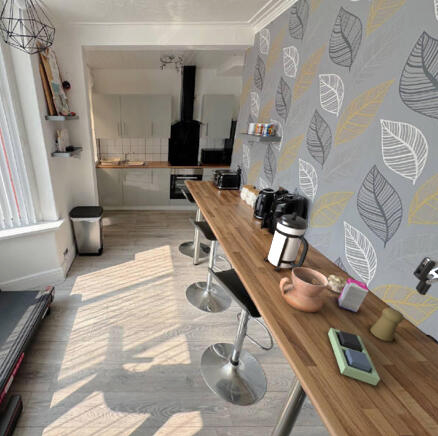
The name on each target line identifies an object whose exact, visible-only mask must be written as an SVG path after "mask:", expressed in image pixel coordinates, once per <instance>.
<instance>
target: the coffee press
mask: <svg viewBox="0 0 438 436" xmlns="http://www.w3.org/2000/svg"><path fill="white" fill-rule="evenodd" d="M308 227H309V225H308V222H307V220H305V219H304V218H303V217H301V216H299V214H298V213H297V212H296V211H295V212H293V213H292V214H283V215H280V216H279V217H278V219H277V224H276V226H275V229H274V233H273V235H272V236H273V237H272V240H271V243H270V247H269V250H268V252H267V253H268V254H267V256H265V257H264V258H263V260H264V261H266V262H268V261H269V263H270V264H272V265H273V266H275V267H276V268H275V271H276V272H279V271H280V268H281V269H291V271H292V270H293V269H294V268H297V267H303V265H304V263H305V261H306V258H307V255H308V251H309V242H308V240H307V239H306V238H305V234H306V230H307V229H308ZM302 245H303V248H302V252H301V254H300V257H299V260H298V263H297V264H296V263H295V262H296V260H297V258H298V255H299V251H300V249H301V247H302Z"/></svg>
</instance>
